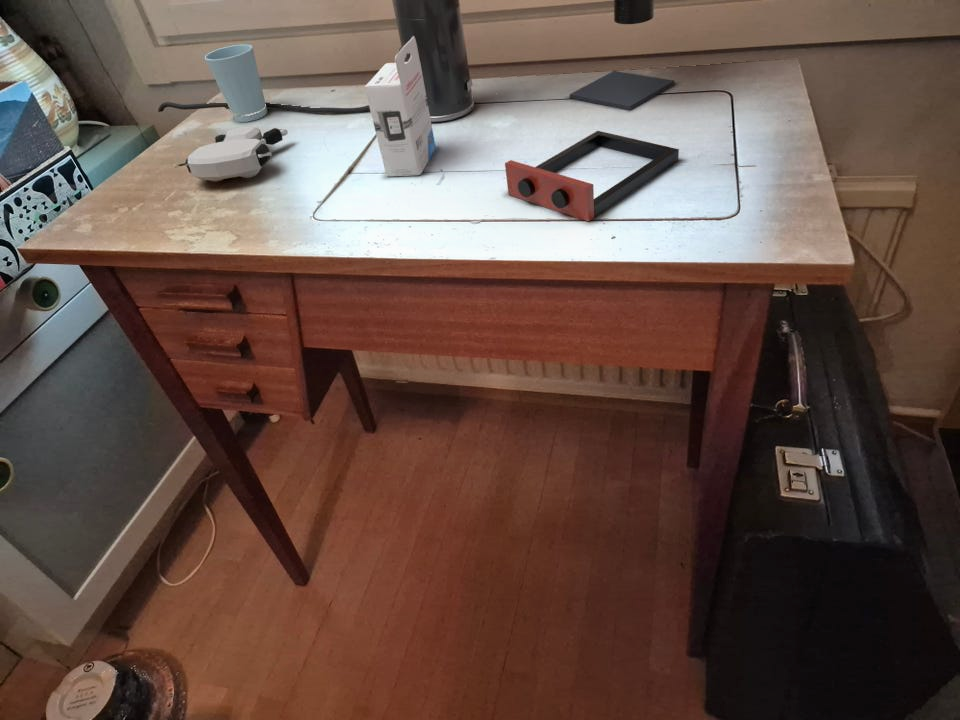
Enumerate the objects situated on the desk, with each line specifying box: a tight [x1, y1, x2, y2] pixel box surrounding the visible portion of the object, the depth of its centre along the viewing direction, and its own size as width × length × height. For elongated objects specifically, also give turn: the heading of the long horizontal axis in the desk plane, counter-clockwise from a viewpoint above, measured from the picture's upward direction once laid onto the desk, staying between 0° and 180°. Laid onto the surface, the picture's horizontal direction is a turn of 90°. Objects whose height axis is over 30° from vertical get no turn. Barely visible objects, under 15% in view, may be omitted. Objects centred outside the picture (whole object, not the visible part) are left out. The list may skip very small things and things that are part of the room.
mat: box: [568, 70, 676, 111], centre depth 98 cm, size 11×11×1 cm
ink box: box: [364, 36, 437, 177], centre depth 84 cm, size 9×5×15 cm, turn 168°
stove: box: [504, 130, 680, 223], centre depth 77 cm, size 12×18×4 cm
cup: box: [204, 43, 268, 123], centre depth 109 cm, size 8×8×10 cm
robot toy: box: [173, 125, 289, 182], centre depth 94 cm, size 12×4×15 cm
